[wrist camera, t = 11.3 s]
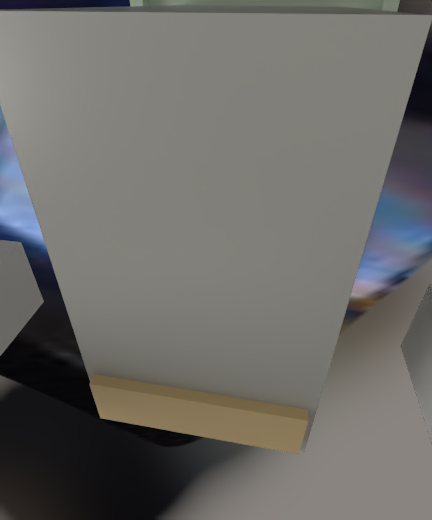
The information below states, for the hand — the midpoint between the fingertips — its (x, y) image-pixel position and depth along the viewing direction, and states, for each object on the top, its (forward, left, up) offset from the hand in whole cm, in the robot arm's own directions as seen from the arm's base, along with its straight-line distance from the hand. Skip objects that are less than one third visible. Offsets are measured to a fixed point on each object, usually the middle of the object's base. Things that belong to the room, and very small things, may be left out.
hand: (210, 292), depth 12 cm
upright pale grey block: (0, +3, -7) cm, 8 cm away
